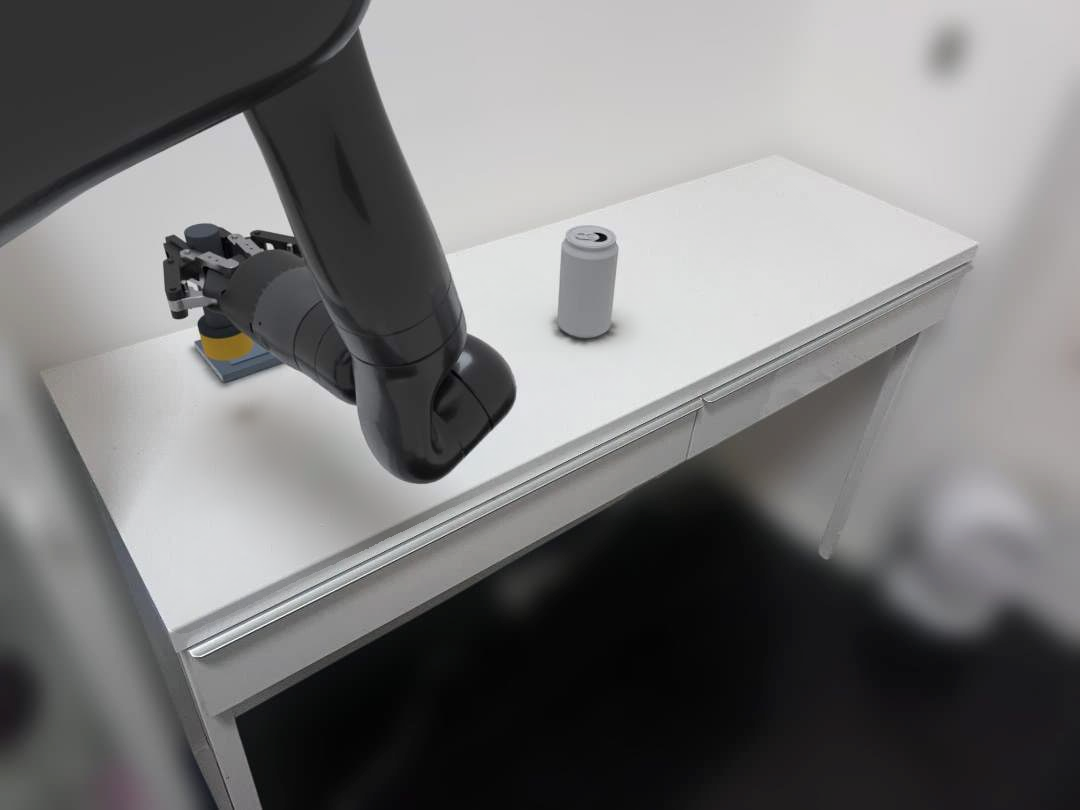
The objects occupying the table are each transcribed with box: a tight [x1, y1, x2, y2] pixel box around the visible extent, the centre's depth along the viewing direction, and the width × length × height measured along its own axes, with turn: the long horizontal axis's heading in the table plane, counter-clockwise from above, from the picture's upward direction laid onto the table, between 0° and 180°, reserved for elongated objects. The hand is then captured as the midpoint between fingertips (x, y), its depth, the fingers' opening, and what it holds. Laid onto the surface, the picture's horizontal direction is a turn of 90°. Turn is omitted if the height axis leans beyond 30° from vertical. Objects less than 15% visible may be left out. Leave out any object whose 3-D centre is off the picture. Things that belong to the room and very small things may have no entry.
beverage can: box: [556, 224, 620, 339], centre depth 93 cm, size 6×6×12 cm
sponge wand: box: [183, 222, 253, 360], centre depth 72 cm, size 4×4×12 cm
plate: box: [193, 338, 284, 384], centre depth 90 cm, size 14×8×1 cm, turn 129°
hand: (189, 240), depth 71 cm, fingers closed on sponge wand, 2 cm apart
